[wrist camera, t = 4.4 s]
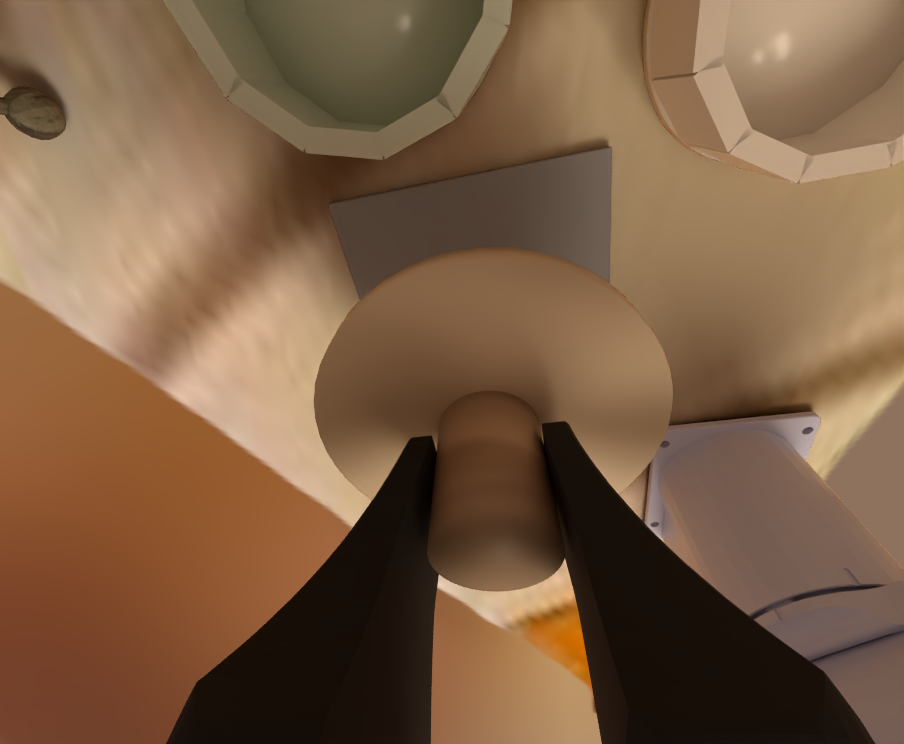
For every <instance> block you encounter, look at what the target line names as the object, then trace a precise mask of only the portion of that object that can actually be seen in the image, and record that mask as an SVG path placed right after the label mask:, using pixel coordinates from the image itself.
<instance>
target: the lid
mask: <svg viewBox="0 0 904 744" xmlns="http://www.w3.org/2000/svg"><path fill="white" fill-rule="evenodd" d="M672 406H673V385H672V378H671V372H670V368H669V365H668V362H667V359H666V356H665V353H664V350H663V349H662V347H661V345H660V343H659V342H658V340H657V338H656V336H655V335H654V333H653V331H652V330H651V328H650V327H649V326H648V325H647V323H646V322H645V321H644V319H643V318H642V317H641V315H640V314H639V313H638V311H637V310H636V309H635V308H634V307H633V306H632V304H631V303H630V302H629V301H628V300H627V298H626V297H625V296H624V295H623V294H622V293H620V292H619V291H618V290H617V289H616V288H615V287H613V286H612V285H611V284H610V283H609V282H608V281H606V280H605V279H603V278H601V277H600V276H598V275H596V274H595V273H593V272H592V271H590V270H588V269H587V268H585V267H582V266H580V265H578V264H575V263H573V262H571V261H569V260H566V259H564V258H561V257H557V256H554V255H550V254H546V253H543V252H539V251H534V250H527V249H519V248H512V247H480V248H472V249H464V250H456V251H452V252H448V253H444V254H441V255H437V256H433V257H429V258H427V259H424V260H422V261H420V262H417V263H415V264H412V265H410V266H407V267H405V268H403V269H402V270H400V271H398V272H396V273H395V274H393V275H391V276H390V277H388V278H386V279H384V280H383V281H382V282H381V283H379V284H378V285H377V286H375V287H374V288H373V289H372V290H370V291H369V292H368V293H367V294H365V296H364V297H363V298H362V299H361V300H360V301H359V302H358V303H357V304H356V305H355V306H354V307H353V308H352V309H351V311H350V312H349V313H348V315H347V316H346V318H345V319H344V321H343V322H342V324H341V325H340V327H339V328H338V330H337V332H336V334H335V336H334V337H333V339H332V341H331V343H330V344H329V346H328V349H327V351H326V353H325V355H324V357H323V359H322V362H321V364H320V367H319V371H318V375H317V379H316V382H315V394H314V408H315V419H316V423H317V427H318V430H319V434H320V437H321V439H322V442H323V444H324V446H325V449H326V451H327V453H328V454H329V456H330V457H331V459H332V461H333V462H334V464H335V466H336V467H337V468H338V469H339V470H340V472H341V473H342V474H343V475H344V477H345V478H346V479H347V480H348V481H349V482H350V483H351V484H352V485H353V486H354V487H356V488H357V489H358V490H359V491H360V492H361V493H363V494H364V495H365V496H367V497H368V498H369V499H370V500H373V498H374V497H375V495H376V494H377V492H378V491H379V489H380V488H381V486H382V484H383V483H384V481H385V480H386V478H387V477H388V475H389V473H390V472H391V470H392V468H393V467H394V465H395V463H396V461H397V460H398V458H399V456H400V455H401V453H402V451H403V449H404V448H405V446H406V444H407V442H408V441H409V439H410V438H412V437H421V436H431V435H432V438H433V441H434V444H435V448H436V451H437V452H436V462H435V473H434V483H433V494H432V504H431V515H430V525H429V536H428V546H427V556H428V560H429V562H430V564H431V566H432V567H433V568H434V570H435V571H436V572H437V573H438V574H439V575H441V576H442V577H444V578H445V579H447V580H449V581H450V582H453V583H455V584H457V585H460V586H463V587H466V588H470V589H475V590H482V591H511V590H517V589H522V588H526V587H530V586H533V585H535V584H538V583H540V582H542V581H544V580H546V579H547V578H549V577H550V576H552V575H553V574H554V573H555V572H556V571H557V570H558V569H559V568H560V566H561V565H562V563H563V561H564V558H565V546H564V541H563V536H562V531H561V526H560V521H559V517H558V512H557V507H556V502H555V497H554V492H553V488H552V483H551V478H550V473H549V469H548V464H547V459H546V454H545V449H544V442H543V432H542V423H551V422H560V421H566V422H567V423H568V424H569V425H570V427H571V429H572V431H573V432H574V434H575V436H576V437H577V439H578V441H579V442H580V444H581V445H582V447H583V448H584V450H585V451H586V453H587V454H588V456H589V457H590V459H591V460H592V461H593V463H594V464H595V466H596V467H597V468H598V469H599V471H600V472H601V473H602V475H603V476H604V477H605V478H606V480H607V481H608V482H609V484H610V485H611V486H612V487H613V488H614V490H615V491H616V492H617V493H618V494H619V493H620V492H622V491H623V490H624V489H625V488H627V487H628V486H629V485H630V484H631V483H632V482H633V481H634V480H635V479H636V478H637V477H638V476H639V475H640V474H641V473H642V472H643V471H644V469H645V468H646V467H647V465H648V464H649V463H650V462H651V460H652V459H653V457H654V456H655V454H656V452H657V450H658V449H659V447H660V445H661V443H662V441H663V439H664V436H665V434H666V431H667V429H668V426H669V422H670V417H671V412H672Z"/></svg>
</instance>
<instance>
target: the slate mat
mask: <svg viewBox="0 0 904 744" xmlns="http://www.w3.org/2000/svg"><path fill="white" fill-rule="evenodd" d="M611 176H612V147H604V148H599V149H594V150H589V151H584V152H579V153H574V154H569V155H564V156H559V157H554V158H549V159H544V160H540V161H535V162H530V163H525V164H520V165H515V166H510V167H505V168H500V169H495V170H490V171H485V172H480V173H475V174H471V175H466V176H461V177H456V178H451V179H446V180H441V181H436V182H431V183H426V184H421V185H416V186H411V187H406V188H402V189H397V190H392V191H387V192H382V193H377V194H372V195H367V196H362V197H357V198H352V199H347V200H342V201H337V202H333V203H330V204H328V207H329V210H330V213H331V216H332V219H333V222H334V225H335V228H336V231H337V234H338V237H339V240H340V243H341V246H342V249H343V252H344V254H345V257H346V260H347V263H348V266H349V269H350V272H351V275H352V278H353V281H354V284H355V287H356V290H357V293H358V296H359V299H360V300H361V299H362V298H363V297H364V296H365V294H367V293H368V292H369V291H370V290H372V289H373V288H374V287H375V286H377V285H378V284H379V283H381V282H382V281H383V280H384V279H386V278H388V277H390V276H391V275H393V274H395V273H396V272H398V271H400V270H402V269H403V268H405V267H407V266H410V265H412V264H415V263H417V262H420V261H422V260H424V259H427V258H429V257H433V256H437V255H441V254H444V253H448V252H452V251H456V250H464V249H472V248H480V247H512V248H519V249H527V250H534V251H539V252H543V253H546V254H550V255H554V256H557V257H561V258H564V259H566V260H569V261H571V262H573V263H575V264H578V265H580V266H582V267H585V268H587V269H588V270H590V271H592V272H593V273H595V274H596V275H598V276H600V277H601V278H603V279H605V280H606V281H608V282H609V283H610V230H611Z"/></svg>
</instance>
